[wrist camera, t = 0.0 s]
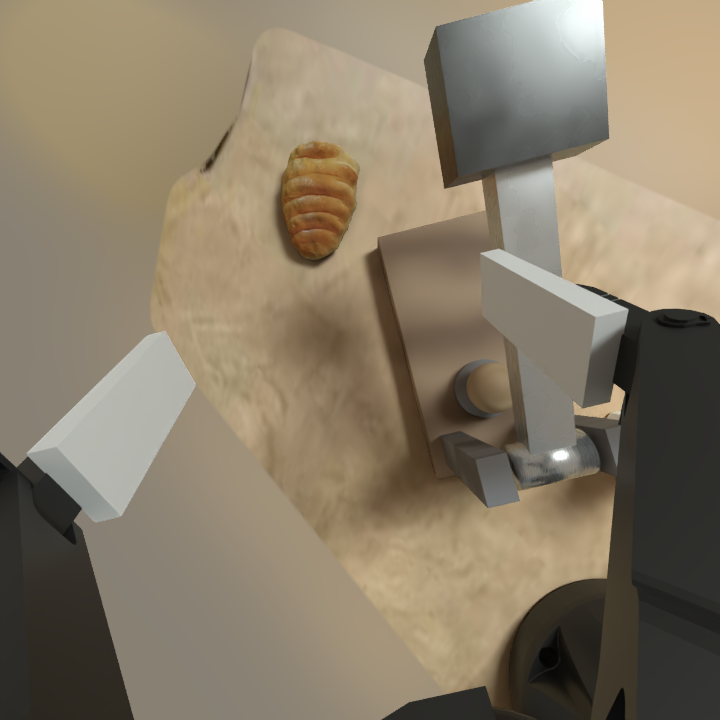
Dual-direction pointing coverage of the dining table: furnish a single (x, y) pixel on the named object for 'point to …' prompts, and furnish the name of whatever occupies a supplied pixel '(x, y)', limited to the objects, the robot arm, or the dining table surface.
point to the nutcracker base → (462, 357)
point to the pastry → (319, 197)
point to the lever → (524, 173)
